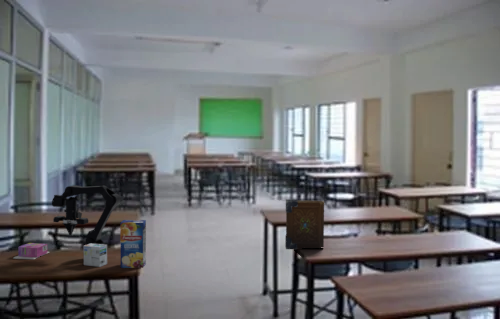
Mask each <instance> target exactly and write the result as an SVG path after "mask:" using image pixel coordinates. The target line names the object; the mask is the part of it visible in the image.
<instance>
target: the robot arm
mask: <svg viewBox="0 0 500 319" xmlns="http://www.w3.org/2000/svg"><path fill="white" fill-rule="evenodd" d="M81 194H83V195H84V194H101V196H102V198H103V199H104V200H105V204H104V209H103V211H102V213H101V215H100V217H99V218H98V221H97V223H96V224H95V226H94V228H93V229H92V230H89V231H88V232H87V235H86V236H85V243H86V244H85V245H87V244H90V243H92V244H103V245H105V242H104V240H102V231H103V230H104V228H105V226H106V224H107V222H108V221H109V219H110V217H111V214H112V212H113V211H114V209H115V208H116V207H118V206H119V204H120V202H121V200H122V198H121V195H120V194H118V193H116V192H115V191H113V190H112V189H110V188H109V187H108V186H106V185H104V184H103V185H95V186H92V185H91V186H81V185H76V184H75V185H74V184H73V185H68V186H66V187H65V188H64V192H63V193H62V194H54V195H53V198H52V200H51V206H52V207H53V208H54V207H55V208H65V209H64V212H65V215H57V216H54V217H53V220H52V222H53V223H59V222H62V225H63V226H64V227H65V229H66V231H67V234H68V235H69V236H72V235H73V232H74V230H75V228H76V226H77V225H86V224H89V218H87V217H82V216H83V213H82V212H79V209H78V208H77V204H78V201H80V200H81V198H80V197H79V196H78V195H81Z"/></svg>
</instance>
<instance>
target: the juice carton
mask: <svg viewBox="0 0 500 319" xmlns="http://www.w3.org/2000/svg"><path fill="white" fill-rule="evenodd" d="M119 225H120V227H119V228H120V232H119V233H120V239H119V240H120V241H119V243H120V268H122V269H125V268H126V269H129V268H130V269H133V268H134V269H142V268H144V267H145V266H147V265H146V264H147V232H146V231H147V226H146V225H147V220H146V219H124V220H122V221H121V222H120V224H119Z"/></svg>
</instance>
